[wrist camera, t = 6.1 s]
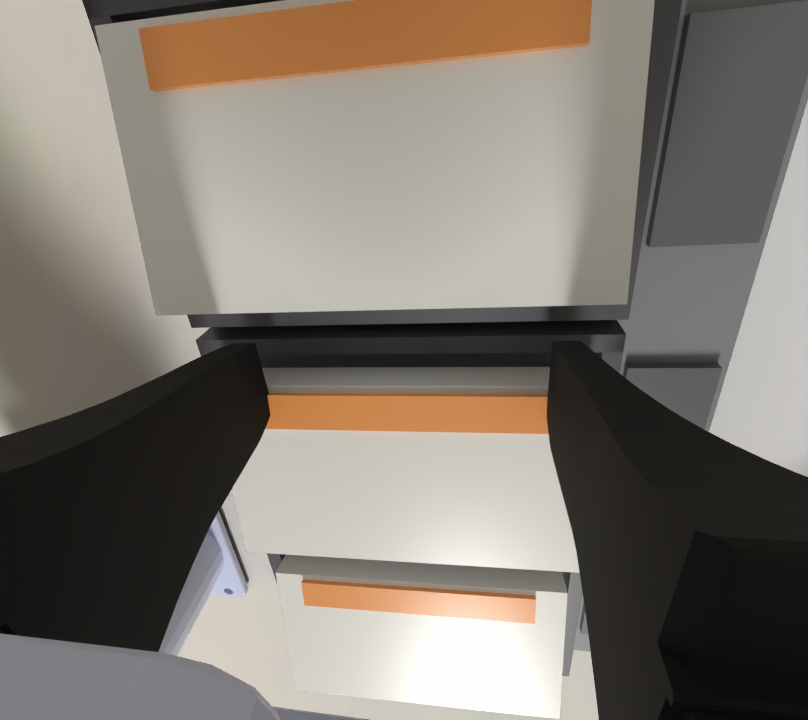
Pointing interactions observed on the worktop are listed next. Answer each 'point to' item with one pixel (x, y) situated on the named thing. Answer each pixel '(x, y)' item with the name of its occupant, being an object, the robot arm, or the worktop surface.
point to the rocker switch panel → (652, 241)
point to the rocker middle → (408, 468)
